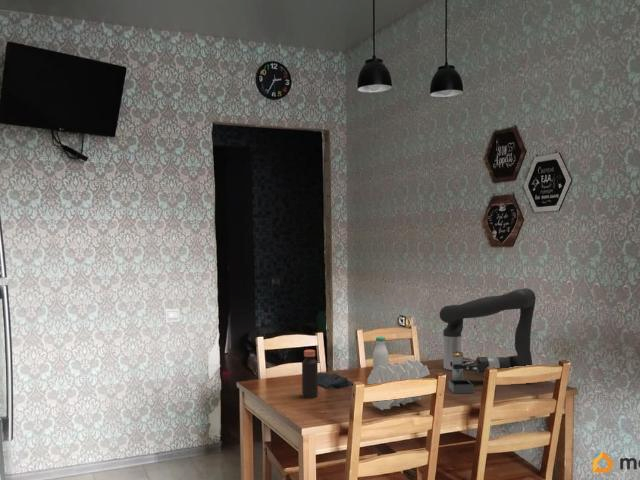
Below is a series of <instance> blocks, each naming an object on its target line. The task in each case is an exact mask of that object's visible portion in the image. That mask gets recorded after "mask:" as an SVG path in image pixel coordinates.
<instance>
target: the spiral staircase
mask: <svg viewBox="0 0 640 480" xmlns="http://www.w3.org/2000/svg"><path fill="white" fill-rule="evenodd" d="M429 375H430V371H429V368H428V366H427V365H423V363H421V361H419V359H415V360H412V359H408V358H407V361H405V362H401V361H400V362H399V361H397V362H396V364H394V363H392V362H389V365H388V366H384V367H382V366H378V368H376V369H374V370H373V369H372V370H370V374H369V376H367V379H366V382H367V384H374V383H381V382H387V381H393V380H401V379H412V378H420V379H421V378H424V377H427V376H429ZM421 400H422V399H421V396H419V397H413V398H412V397H411V398H405V399H404V398H403V399H396V400H387V401H379V402H371V403H372V405H373V406H374V408H375V407H376V408H378V409H379V410H381V411H384V410H390V409H391V408H393V407H400V406H401V405H403V406H405V405H406V404H409V403H414V401H421ZM400 404H401V405H400Z"/></svg>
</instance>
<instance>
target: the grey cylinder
mask: <svg viewBox="0 0 640 480" xmlns="http://www.w3.org/2000/svg"><path fill="white" fill-rule="evenodd" d="M463 357H464V352H462V351H461V352H452V370H451V371H452V379H451V380H464V370H462V369H453V364H461V365H462V364H463V360H464V359H463Z"/></svg>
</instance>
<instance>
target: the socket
mask: <svg viewBox="0 0 640 480" xmlns="http://www.w3.org/2000/svg"><path fill="white" fill-rule="evenodd" d="M474 387H475V385H474V384H473V383H472V382H471V381H470V380H468V379H463V380H452V379H449V380H448V389H449V390H450V391H451V392H452V393H453V394H474V393H475V388H474Z"/></svg>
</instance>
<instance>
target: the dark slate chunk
mask: <svg viewBox="0 0 640 480" xmlns="http://www.w3.org/2000/svg"><path fill="white" fill-rule="evenodd" d="M352 384H354V382H351V381H350V380H348V378H347V377H344V376H342V375H338V374H337V373H331V374H330V373H327V372H318V387H320V388H323V389H325V390H335V389H342V388H343V389H344V388H347V387H351V386H353V385H352Z"/></svg>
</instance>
